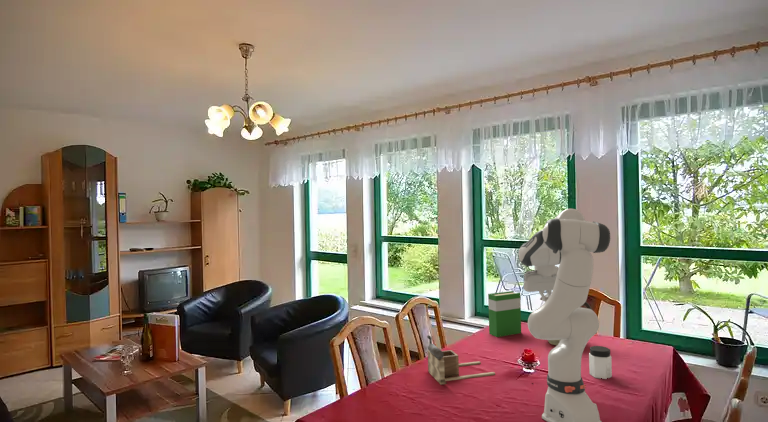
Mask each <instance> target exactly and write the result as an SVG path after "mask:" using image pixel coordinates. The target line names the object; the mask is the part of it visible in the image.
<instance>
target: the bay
mask: <svg viewBox="0 0 768 422" xmlns="http://www.w3.org/2000/svg"><path fill="white" fill-rule="evenodd" d="M426 337H427V339H428V340H429V344H428V345H427V371H428V373H429V374H430V375H431V377H433V378H434V380H436V382H438V383H439V385H447V384H448V383H447V382H449V381H457V380H465V379H472V378H480V377H481V378H482V377H488V376H494V375H495V376H496V372H495V371H491V372H482V373H473V374H466V375H459V376H451V377H445V371H444V360H442V358H443V356H444V353H443V352H442V351H443V350H441V349H440V348H439V347H437V346H436V345H435V344H434V343H433V342H432V341H433V340H432V336H431V335H427V336H426ZM481 364H482V362H481V361H470V362H463V363H459V367H465V366H466V367H467V366H474V365H481Z"/></svg>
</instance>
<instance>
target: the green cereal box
mask: <svg viewBox="0 0 768 422" xmlns="http://www.w3.org/2000/svg"><path fill="white" fill-rule="evenodd" d="M487 297H488V299H487V300H488V302H487V303H488V331H489V332H488V334H489V335H490V336H493V337H496V338H501V337H506V336H512V335H518V334H519V335H520V334H522V312H521V311H522V308H521V306H522V304H521V303H522V302H521V301H522V300H521V292H514V290H511V291H501V292H494V293H493V292H492V293H488V295H487Z"/></svg>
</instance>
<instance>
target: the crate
mask: <svg viewBox="0 0 768 422" xmlns="http://www.w3.org/2000/svg"><path fill="white" fill-rule="evenodd" d="M441 351H442V352H443V353H444V356H443V358H442V360H444V371H445V378H449V377H457V376H460V369H459V367H460V366H459V364H460V363H459V355H458V354H457V353H456V352H455V351H454V350H452V349H448V350H441Z"/></svg>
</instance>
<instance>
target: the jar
mask: <svg viewBox="0 0 768 422" xmlns="http://www.w3.org/2000/svg"><path fill="white" fill-rule="evenodd" d="M588 364H589V366H588V367H589V368H588V369H589V375H590V376H592V377H593V378H595V379H601V378H602V379H601V380H607V378H608V379H611V378H612V377H613V373H612V371H613V370H612V369H613V368H612V367H613V366H612V354H611V349H610V348H609V347H606V346H602V345H601V346H600V345H593V346H590V347H589V353H588Z"/></svg>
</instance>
